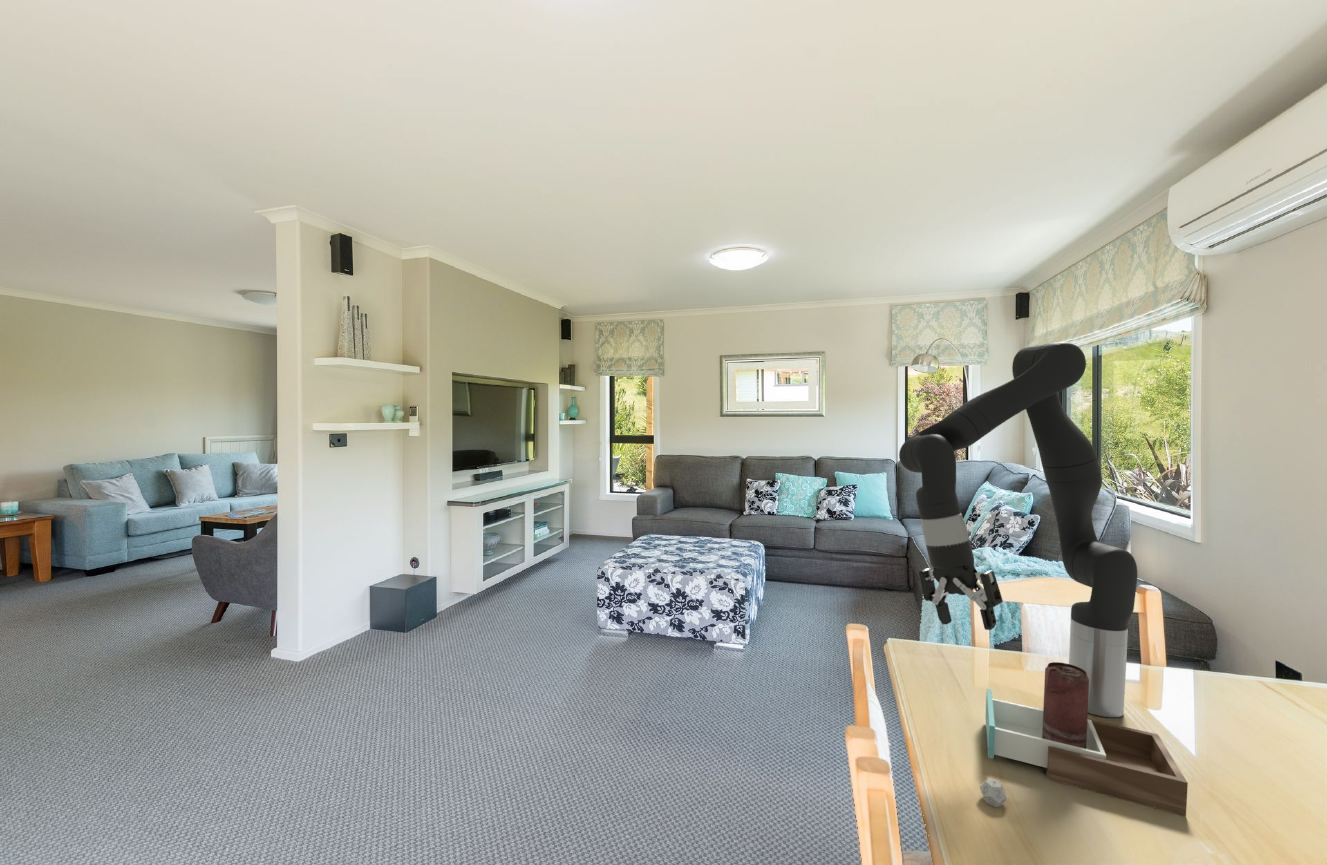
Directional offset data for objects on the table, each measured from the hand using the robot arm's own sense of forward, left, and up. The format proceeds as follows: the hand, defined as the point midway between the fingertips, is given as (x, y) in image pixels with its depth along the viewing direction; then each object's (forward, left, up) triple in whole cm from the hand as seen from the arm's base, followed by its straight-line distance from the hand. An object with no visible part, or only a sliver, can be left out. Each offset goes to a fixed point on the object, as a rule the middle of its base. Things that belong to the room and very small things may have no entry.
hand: (967, 625), depth 106 cm
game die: (+21, +4, -20) cm, 29 cm away
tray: (+3, +12, -18) cm, 22 cm away
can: (+3, +15, -18) cm, 23 cm away
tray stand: (+3, +21, -19) cm, 28 cm away
